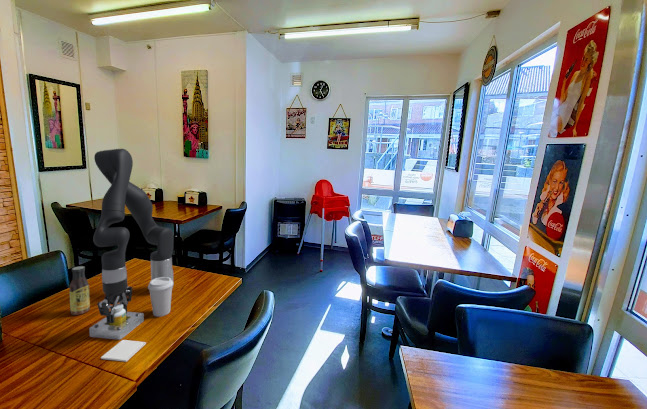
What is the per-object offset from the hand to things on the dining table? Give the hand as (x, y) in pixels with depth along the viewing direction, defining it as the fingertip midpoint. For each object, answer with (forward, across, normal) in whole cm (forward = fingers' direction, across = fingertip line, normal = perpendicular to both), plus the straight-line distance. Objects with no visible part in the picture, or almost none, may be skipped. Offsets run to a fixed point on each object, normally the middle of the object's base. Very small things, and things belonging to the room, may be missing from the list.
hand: (117, 318), depth 104 cm
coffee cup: (+5, -13, +9) cm, 17 cm away
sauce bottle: (+5, -8, -24) cm, 26 cm away
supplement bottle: (+5, 0, 0) cm, 5 cm away
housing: (+4, 0, 0) cm, 4 cm away
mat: (+4, +11, +12) cm, 17 cm away
